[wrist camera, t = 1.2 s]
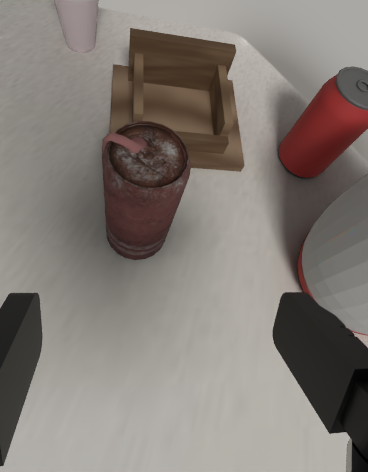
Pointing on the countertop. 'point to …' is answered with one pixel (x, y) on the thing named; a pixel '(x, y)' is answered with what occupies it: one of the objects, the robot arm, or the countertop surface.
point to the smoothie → (78, 23)
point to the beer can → (328, 124)
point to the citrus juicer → (340, 258)
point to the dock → (181, 95)
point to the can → (142, 186)
